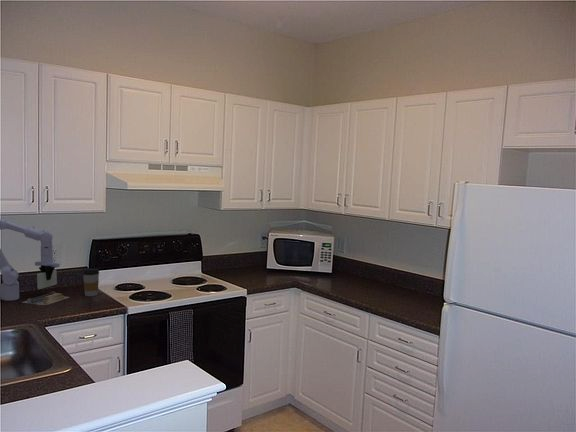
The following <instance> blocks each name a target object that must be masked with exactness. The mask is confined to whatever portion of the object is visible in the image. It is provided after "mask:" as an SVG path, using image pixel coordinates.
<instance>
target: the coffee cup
mask: <svg viewBox="0 0 576 432" xmlns="http://www.w3.org/2000/svg"><path fill="white" fill-rule="evenodd" d="M82 276H83V277H82V279H83V290H84V291H83V292H84V296H85V297H95V296H98V294H99V292H98V291H99V283H100V282H99V280H100V279H99V277H100V271H99V268H96V267H90V268H84V269H83V272H82Z"/></svg>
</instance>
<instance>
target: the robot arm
mask: <svg viewBox="0 0 576 432" xmlns="http://www.w3.org/2000/svg"><path fill="white" fill-rule="evenodd" d="M7 229H8V230H11V231H14V232H18V233H20V234H24V237H25V238H29V239H32V240H34V241H39V242H40V261H35V262H34V266H35V267H36V266H37V267H38V269H39V271H40V273H43V272H46V279H47V280H51V276H52V273H53V271H54V270H56V268H57V269H58V268H60V263H57V262H55V261H54V255H53V253H54V251H53V250H54V247H53V234H52V233H51V232H49V231H48V230H47V231H46V230H44V229H43V230H41V229H38V228H37V227H36V226H34V225H33V226H28V227H25V226H24V225H23V226H22V225H20V224H17V223H14V222H12V221H8V220H6V219H3V218H1V219H0V231H1V230H7ZM0 275H1V277H2V283H1V284H0V300H2V301H16V300H18V299H20V282H19V281H18V279H19V276H20V275H19V272H18V270H16V269H15V268H14V267H13V266H12V265H11V264H10V263H9V261H8V259H7V257H6V256H5V254H4V252H3V251H2V249H1V248H0Z"/></svg>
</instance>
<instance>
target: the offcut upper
mask: <svg viewBox="0 0 576 432" xmlns="http://www.w3.org/2000/svg"><path fill="white" fill-rule="evenodd" d="M62 296H63V293H59V292H58V293H57V292H56V294H52V295H49V296H46V297H45V300H53V299H56V298H59V297H62Z"/></svg>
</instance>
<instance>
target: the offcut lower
mask: <svg viewBox="0 0 576 432" xmlns="http://www.w3.org/2000/svg"><path fill="white" fill-rule="evenodd" d="M65 297H66V296H65V295H62V297H59V298H56V299H53V300H43V301H44V303H51V304H54V303H57V302H60V301H63V300H65ZM62 299H63V300H62ZM59 300H60V301H59ZM56 301H57V302H56ZM53 302H54V303H53Z"/></svg>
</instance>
